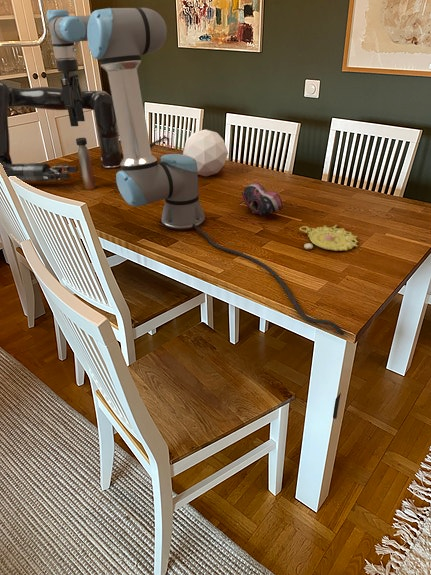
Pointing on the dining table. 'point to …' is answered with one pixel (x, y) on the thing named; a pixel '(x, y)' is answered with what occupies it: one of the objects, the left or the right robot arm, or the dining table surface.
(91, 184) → the bottle
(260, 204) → the athletic shoe
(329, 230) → the decorative object
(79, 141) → the cap
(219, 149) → the sphere
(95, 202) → the dining table surface
